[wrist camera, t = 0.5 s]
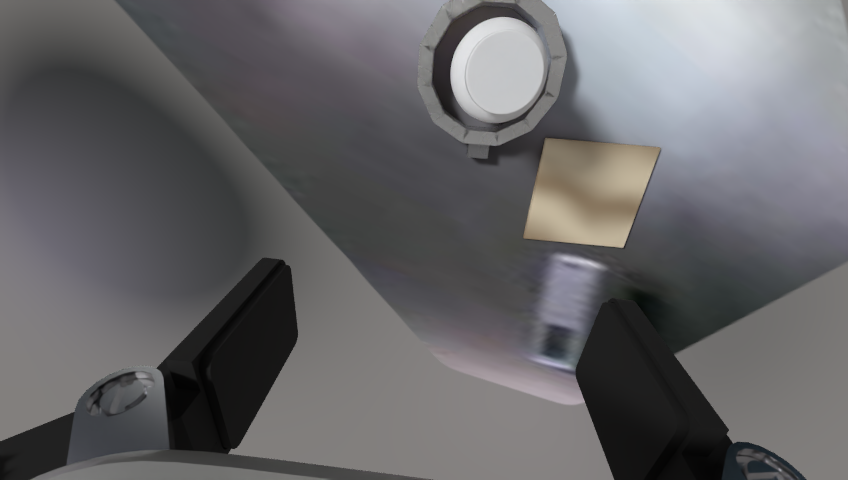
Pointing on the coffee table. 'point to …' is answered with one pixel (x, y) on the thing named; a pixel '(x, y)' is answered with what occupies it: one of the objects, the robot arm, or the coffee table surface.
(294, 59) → the coffee table surface
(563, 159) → the mat
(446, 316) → the coffee table surface
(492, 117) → the supplement bottle
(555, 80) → the collar
